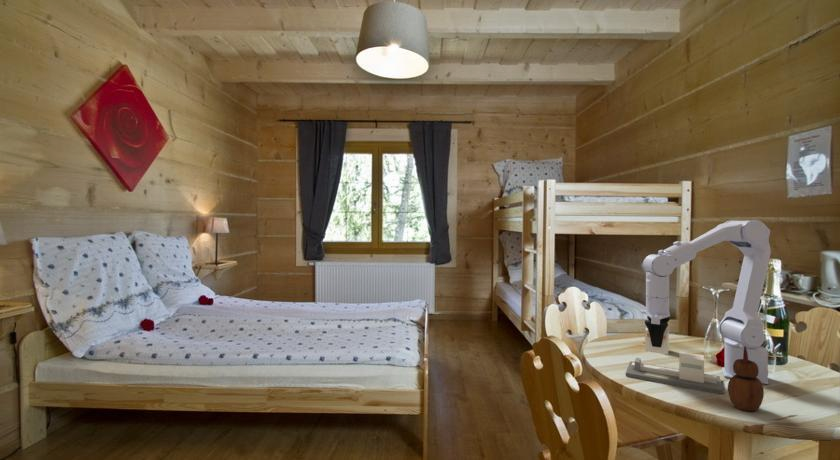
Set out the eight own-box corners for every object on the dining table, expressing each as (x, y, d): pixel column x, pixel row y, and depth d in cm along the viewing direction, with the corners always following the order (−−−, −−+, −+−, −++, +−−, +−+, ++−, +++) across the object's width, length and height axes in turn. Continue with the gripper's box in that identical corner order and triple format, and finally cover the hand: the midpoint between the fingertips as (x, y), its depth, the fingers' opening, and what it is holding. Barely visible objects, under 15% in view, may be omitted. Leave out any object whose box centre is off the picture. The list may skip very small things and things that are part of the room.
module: (668, 350, 115) (668, 329, 115) (667, 354, 110) (667, 332, 110) (646, 346, 118) (646, 326, 118) (645, 351, 113) (645, 330, 113)
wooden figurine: (751, 416, 90) (751, 350, 89) (723, 405, 95) (723, 343, 95) (768, 410, 92) (768, 346, 92) (740, 400, 98) (740, 339, 97)
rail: (719, 379, 110) (719, 354, 110) (722, 394, 101) (722, 366, 101) (630, 364, 123) (630, 341, 123) (625, 376, 114) (625, 351, 113)
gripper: (643, 291, 122) (643, 335, 122) (638, 299, 110) (638, 348, 110) (671, 293, 118) (671, 339, 118) (668, 302, 106) (668, 352, 106)
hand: (657, 344), depth 114 cm, fingers closed on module, 5 cm apart
